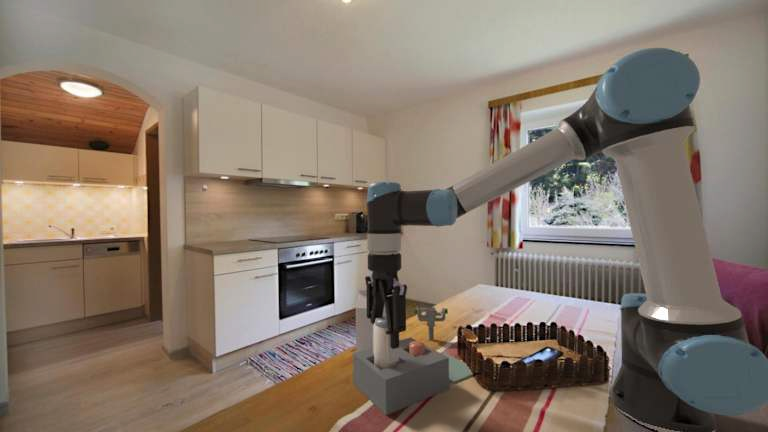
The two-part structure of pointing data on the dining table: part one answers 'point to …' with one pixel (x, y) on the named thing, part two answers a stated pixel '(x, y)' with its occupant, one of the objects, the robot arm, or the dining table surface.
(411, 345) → the pink egg shape
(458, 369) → the mat
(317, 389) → the dining table surface
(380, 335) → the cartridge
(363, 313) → the milk carton
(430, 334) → the mechanical component
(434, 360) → the housing
